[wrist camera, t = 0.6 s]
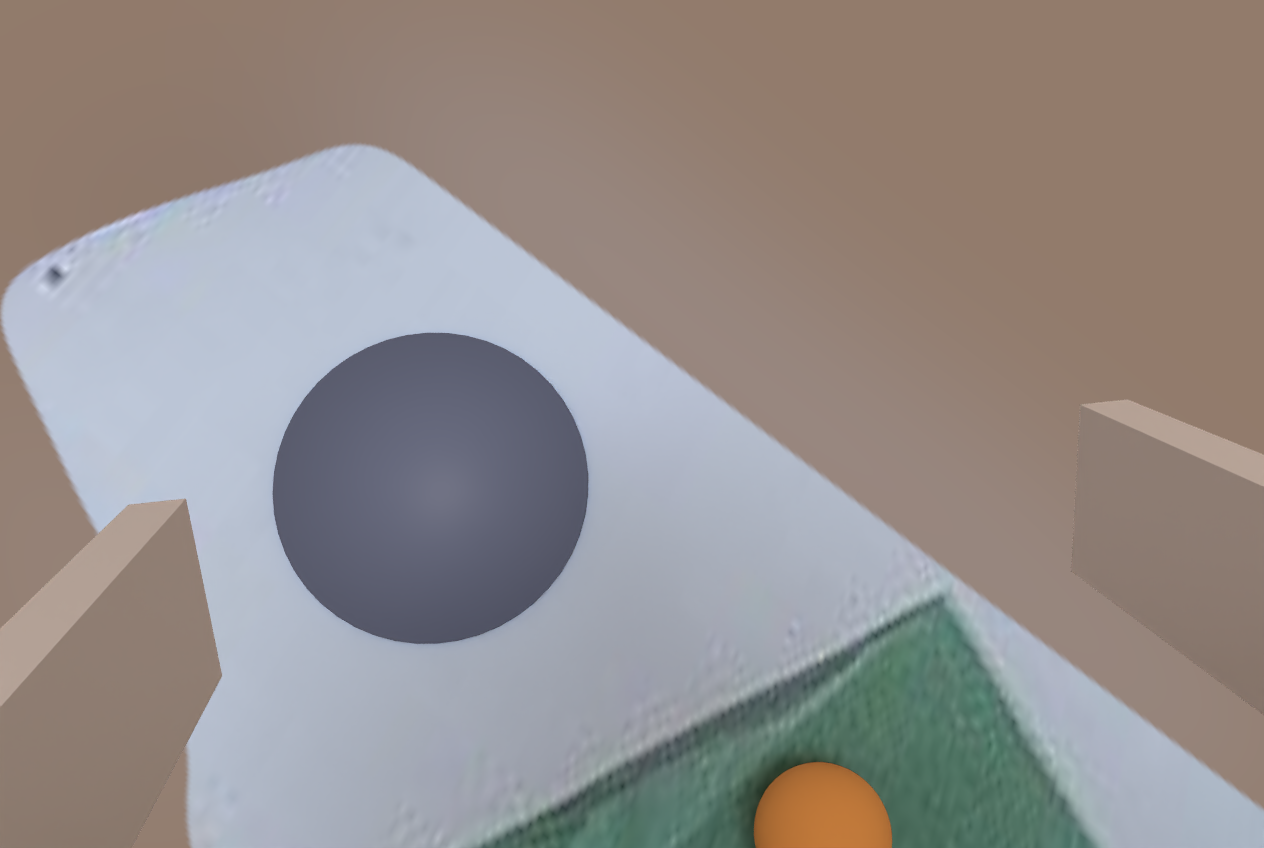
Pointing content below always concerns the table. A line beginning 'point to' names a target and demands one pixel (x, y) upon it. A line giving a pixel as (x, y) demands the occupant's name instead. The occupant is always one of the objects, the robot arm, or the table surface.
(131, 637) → the robot arm
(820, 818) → the ball
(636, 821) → the table surface
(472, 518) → the disc
